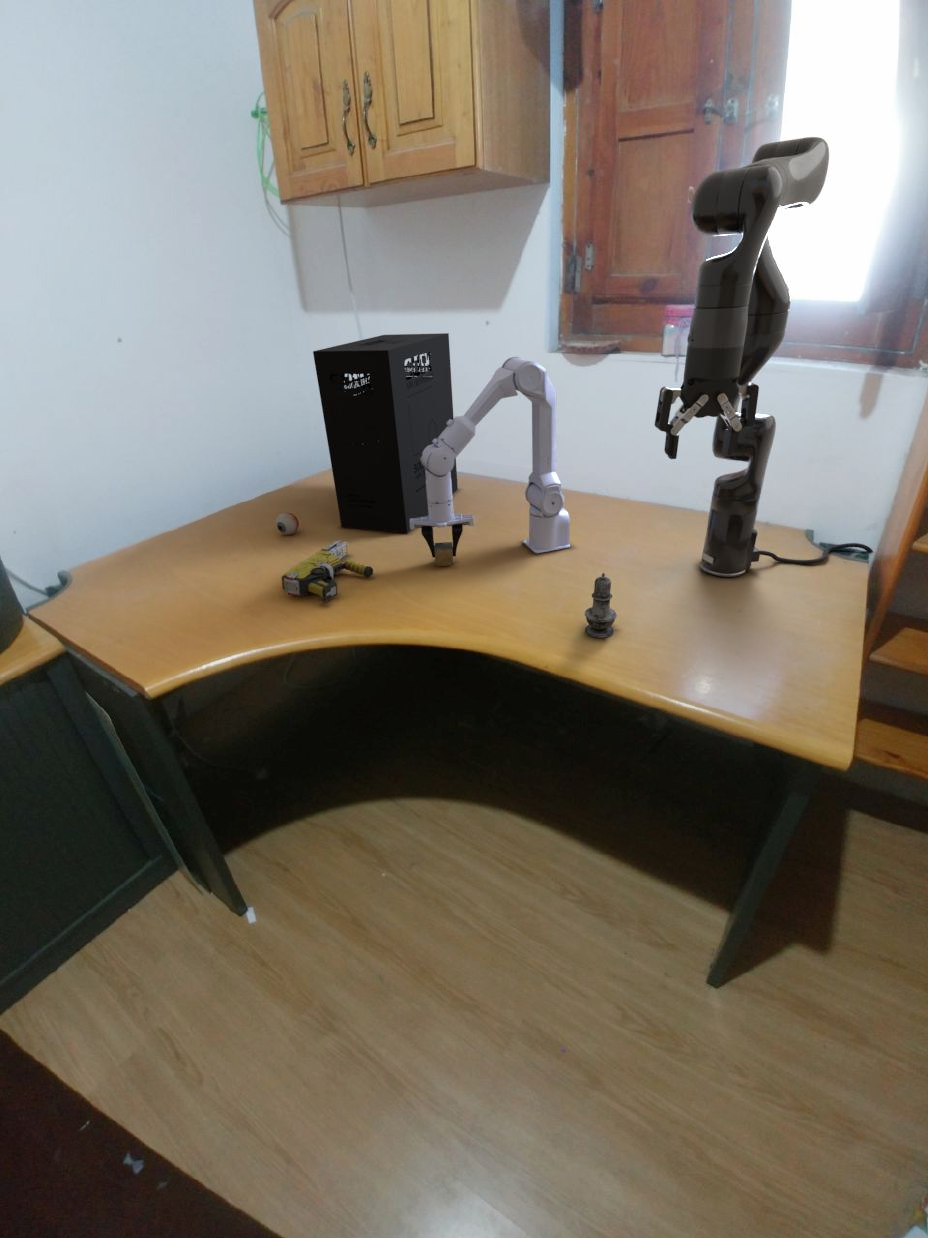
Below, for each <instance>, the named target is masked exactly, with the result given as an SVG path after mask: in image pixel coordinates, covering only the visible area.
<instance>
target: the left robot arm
mask: <svg viewBox="0 0 928 1238" xmlns="http://www.w3.org/2000/svg"><path fill="white" fill-rule="evenodd" d="M518 392H519V393H521V394H522V395H523V396H524V397H525V398H527V400H529V401H530V402H531V451H532V452H531V454H532V462H531V463H532V471H531V473H530V474H529V476H528V482H527V486H526V488H525V492H524V496H525V500H526V501H527V503H529V509H528V511H529V512H528V513H529V514H528V539H524V540H523V541H522V543H523V544H524V545H525V546H526V547H527V548H528V549H530V550H531V551H532V552H533V553H534V554H537V555H538V554H542V553H548V552H552V551H558V550H564V549H568V548H571V544H570V535H571V534H570V533H571V532H570V531H571V519H570V514H569V512H568V511H567V509H566V508H564V505H565V502H566V500H565V499H566V498H565V496H564V494H563V492H562V483H561V481H560V479H559V477H558V474H557V472H556V470H557V469H556V468H557V467H556V464H557V462H556V461H557V392H556V389H555V387H554V385H553V383H552V382H551V380H550V378H549V376H548V370H547V369H546V368H545V367H543V365H541V364H539V363H538V362H536V361H535V360H527V359H524V358H522V357H519V356H511V357H508V358H507V359H506V360H505V361H504V362H503V363H502V365H501V366H500V367H498V368H496V370H495V371H494V373H493V375H492V377H491V379H490V380H489V381H488V383H487V384H486V385H485V387H484V388H483V389H482V391H481V392H480V393H479V395H478V396H477V397H476V398H475V400H474V401H473V402H472V404H471V405H470V406H469V407H468V409H467V410H466V412H465V413H464V415H459V416H454V417H453V418H454V419H453V420H451V419H449V420H448V422H447V423H446V424H447V425H448V426H447V427H446V428H445V430H444V431H443V432H442V433H441V434H440V436H439V437H438V438H437V439H436V438H435V439H434V440H433V441H432V442H433V443H434V444H431V445H428V446H427V447H426V448H425V449H424V451H423V453H422V457H421V458H420V459H421V463H422V464H423V466H424V467H425V468H426V469H425V473H426V491H427V502H428V514H429V515H428V516H425V517H420V518H412V519H410V529H412V530H415V529H420V530H421V532H420V533H421V535H422V537H423V538H424V540H425V542H426V544H427V545H428V547H429V551H430V554H431V557H432V558H433V559H435V551H434V550H435V540H434V528H446V527H451V534H452V535H451V536H452V537H451V538H452V546H453V557H457V548H458V544H459V540H460V539H461V536H462V534H463V531H464V527H463V526H468V527H474V524H475V523H474V515H473V514H455V513H454V499H453V498H454V497H453V494H452V482H451V472H450V471H451V470H452V469H453V467H454V460H455V458H456V459H457V457H458V456H459V455H460V454H461V452H463V450H464V449H465V448H466V447H467V446H468V445H469V443H470V442H471V441H472V440H473V438H474V437H475V436H476V427H477V425H478V424H479V423H480V422H481V421H482V420H483V419H484V418H485V417H486V416H487V415H488V414H489V412H491V410H492V409H493V408H494V407H496V405H497V404H498V403H499V402H500V401H502V399H506V398H512V397H517V396H519V393H518Z"/></svg>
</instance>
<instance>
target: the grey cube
mask: <svg viewBox="0 0 928 1238" xmlns="http://www.w3.org/2000/svg"><path fill="white" fill-rule="evenodd" d="M434 546H435V550H434V551H435V557H434V561H435V567H442V566H444V567H445V566H454V556H453V541H447V542H446V541H445V542H434Z"/></svg>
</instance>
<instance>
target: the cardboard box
mask: <svg viewBox="0 0 928 1238" xmlns="http://www.w3.org/2000/svg"><path fill="white" fill-rule="evenodd" d="M450 351H451V350H450V334H449V332H447V333H445V332H444V333H443V332H442V333H441V332H440V333H407V334H406V333H405V334H403V333H401V334H398V333H397V334H381V335H377V336H372V337H369V338H364V339H361V340H356V341H352V342H347V343H343V344H338V345H335V346H330V347H326V348H321V349H317V350H313V351H312V355H313V360H314V366H315V372H316V379H317V386H318V391H319V397H320V404H321V410H322V415H323V416H322V417H323V422H324V428H325V433H326V441H327V447H328V452H329V458H330V466H331V471H332V472H331V473H332V477H333V483H334V489H335V495H336V501H337V502H336V503H337V509H338V514H339V520H340V527H341V528H347V529H348V528H349V529H358V530H359V529H360V530H370V531H378V532H379V531H380V532H389V533H402V534H408V533H410V531H412V530H413V529H410V519H412V518H420V517H425V516H429V514H428V502H427V491H426V473H425V469H426V468H425V467H424V466H423V464H422V463H421V459H420V458H421V457H422V453H423V451H424V449H425V448H426V447H427V446H428V445H431V444H434V443H433V442H432V441H433V440H434V439H435V438H436V439H437V438H438V437H439V436H440V434H441V433H442V432H443V431H444V430H445V428H446V427H447V426H448V425H447V424H446V423H447V422H448V420H449V419H451V420H453V419H454V418H455V417H454V404H453V403H454V401H453V400H454V399H453V387H452V367H451V352H450ZM421 355H422V356H421ZM415 357H416V360H415ZM409 359H410V360H409ZM406 360H407V362H406ZM427 361H428V363H427ZM405 363H406V364H405ZM426 363H427V365H426ZM422 364H423V365H422ZM354 375H356V378H355V377H354ZM361 375H363V376H361ZM350 377H351V380H350ZM457 471H458V470H457V457H456V458H455V460H454V467H453V469H452V470H451V471H450V472H451V482H452V495H453V494H454V493H456V492H457V490H459V489H458V472H457Z"/></svg>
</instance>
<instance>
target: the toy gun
mask: <svg viewBox="0 0 928 1238" xmlns="http://www.w3.org/2000/svg"><path fill="white" fill-rule="evenodd" d="M345 548H348V543H347V542H346V541H343V540H342V541H341V540H339V539H338V540H335V541H334V542H333V543H331V544H330V545H327V546H326V547H325V548H321V549H320V550H318V551H317V552H316V553H314V554H312V555H311V556H310V557H307V559H305V560H304V561H302V562H300V563H299V564H298V565H296V566H294V567H293V568H291V569H290V570H288V571H287V572H285V573H284V574H282V576H281V585H282V586H281V587H282V590H283V591H284V592H285V593H287V596H292V597H295V596H302V597H303V596H307V595H310V594H315V595H318V596H320V597H322V601H323V602H325V603H327V602H328V601H330V600H332V599H333V598H335V597H337V596H338V594H339V593H338V582H337V581H336V580H334V578H335V577H334V575H336V574H337V573H340V572H342V571H343V570H346V571H349V572H353V573H355V574H358V575H361V576H364V577H366V578H370V577H372V576H373V575H374V569H373V567H372V566H370V565H365V564H361V563H359V562H357V561H352V560H349V559H347V560H345V561H344V562H342V560H343V558H344V557H347V556H348V554H349V553H348V549H346V552H344V549H345Z"/></svg>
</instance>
